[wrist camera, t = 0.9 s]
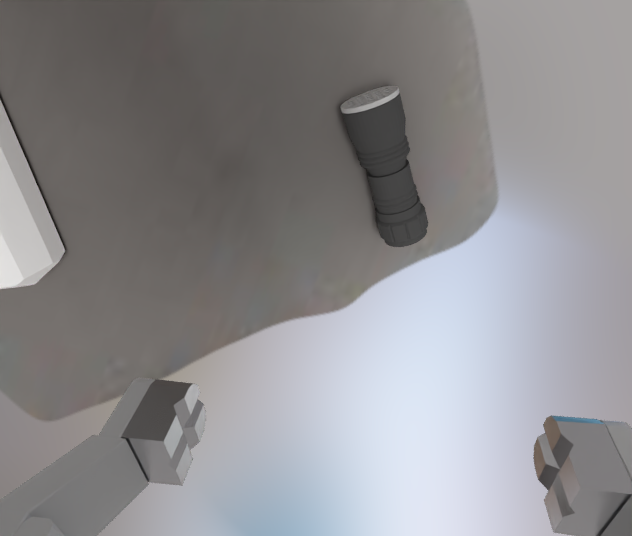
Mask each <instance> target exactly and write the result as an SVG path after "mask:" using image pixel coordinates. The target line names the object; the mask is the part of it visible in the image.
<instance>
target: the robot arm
mask: <svg viewBox="0 0 632 536" xmlns="http://www.w3.org/2000/svg"><path fill="white" fill-rule="evenodd" d="M199 394H200V391H199V388H198V385H197V384H192V383H183V382H174V381H166V380H158V379H148V378H136V379H135V380H134V381H133V382H131V384H130V385H129V387H128V388H127V390H126V392H125V393H124V395H123V397H122V398H121V400H120V401H119V403H118V405H117V406H116V408H115V410H114V411H113V413H112V414H111V416H110V418H109V419H108V421H107V423H106V424H105V426H104V427H103V429H102V431H101V432H100V434H99V435H92V436H91V437H89V438H88V439H86V440H85V441H83V442H82V443H81V444H79V445H78V446H76V447H75V448H74V449H72V450H71V451H69V452H68V453H66V454H65V455H63V456H62V457H61V458H59V459H58V460H56V461H55V462H53V463H52V464H51V465H49V466H48V467H46V468H45V469H43V470H42V471H40V472H39V473H38V474H36V475H35V476H33V477H32V478H31V479H29V480H28V481H26V482H25V483H23V484H22V485H20V487H18V488H16V489H15V490H13V491H12V492H10V493H9V494H8V495H6V496H5V497H3V498H2V499H0V536H97V535H98V534H99V533H100V532H101V531H102V530H103V529H104V528H105V527H106V526H107V525H108V524H109V523H110V522H111V521H112V520H113V519H114V518H115V517H116V516H117V515H118V514H119V513H120V512H121V511H122V510H123V509H124V508H125V507H126V506H127V505H128V504H130V502H132V500H134V499H135V498H136V497H137V496H138V495H139V493H141V492H142V491H143V490H144V489H145V488H146V487H147V486H148V482H151V483H161V484H173V485H183V483H184V480H185V477H186V475H187V473H188V470H189V468H190V465H191V463H192V460H193V458H192V454H191V451H190V450H191V448H193V447H194V446H195V445H197V444H198V443H199V442H200V440H201V437H202V434H203V432H204V427H205V421H206V410H205V407H204V404H203V403H202V402H201V401H199V400H198V397H199ZM543 426H544V429H545V433H544V434H542V435H541V436H539V437H538V438H537V440H536V443H535V445H534V464H535V469H536V474H537V477H538V480H539V481H540V482H541V483H542V484H543V485H544V486H545V487H546V488H547V490H548V493H547V495H546V497H545V499H544V502H545V505H546V508H547V512H548V516H549V519H550V523H551V526H552V529H553V532H555V533H561V534H567V535H574V536H632V428H631V427H630V426H629V425H628V424H627V423H624V422H617V421H602V420H597V419H587V418H575V417H562V416H549V417H548V418H546V420H545V422H544V424H543Z"/></svg>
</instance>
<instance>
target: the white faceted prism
mask: <svg viewBox="0 0 632 536" xmlns="http://www.w3.org/2000/svg"><path fill="white" fill-rule="evenodd" d="M1 148H2V149H1ZM5 157H6V158H5ZM10 168H11V169H10ZM19 188H20V189H19ZM24 199H25V200H24ZM38 230H39V231H38ZM64 252H65V249H64V246H63V244H62V242H61V239H60V237H59V235H58V232H57V230H56V228H55V226H54V223H53V221H52V219H51V216H50V214H49V212H48V209H47V207H46V205H45V202H44V200H43V198H42V195H41V193H40V191H39V188H38V186H37V184H36V181H35V179H34V177H33V174H32V172H31V170H30V167H29V165H28V163H27V160H26V158H25V156H24V153H23V151H22V149H21V146H20V144H19V142H18V139H17V137H16V135H15V132H14V130H13V128H12V125H11V123H10V121H9V118H8V116H7V114H6V112H5V109H4V107H3V105H2V102H1V100H0V289H5V288H14V287H22V286H28V285H34V284H36V283H37V282H38V281H39V280H40V279H41V278H42V277H43V276H44V275H45V274H46V273H47V272H49V271H50V270H51V269H52V268H53V267H54V266H55V265H56V264H57V263H58V262H59V261H60V259H61V258H62V256H63V254H64Z"/></svg>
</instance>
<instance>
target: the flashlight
mask: <svg viewBox="0 0 632 536" xmlns="http://www.w3.org/2000/svg"><path fill="white" fill-rule="evenodd" d="M341 111H342V114H343V117H344V121H345V124H346V127H347V131H348V134H349V137H350V139H351V141H352V142H353V144H354V146H355V147H356V149H357V155H358V159H359V161H360V165H361V166H362V167H363V168H366V169H367V171H368V172H367V176H368V179H369V182H370V186H371V189H372V193H373V201H374V205H375V206H376V213H377V217H376V223H377V226H378V229H379V233H380V236H381V238H383V239H384V240H385V243H386V244H388V245H389V246H393V247H404V246H408V245H411V244H414V243H416V242H418V241H420V240H421V239H422V238H423V237H424V236H425V235H426V233H427V229H426V228H427V226H428V220H427V216H426V212H425V208H424V206H423V205H422V204H421V203H420V199H419V196H418V195H417V194H418V193H417V190H416V185H415V184H414V182H413V178H412V174H411V170H410V166H409V162H408V160H406V156H407V155H408V153H409V151H410V148H409V146H408V145H409V143H408V141H407V136H406V135H405V115H404V110H403V106H402V102H401V97H400V93H399V88H398V86H385V87H380V88H376V89H373V90H370V91H367V92H365V93H362V94H360V95H357V96H355V97H352V98H350V99H349V100H347V101H345V102H344V103H343V104H342V105H341Z"/></svg>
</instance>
